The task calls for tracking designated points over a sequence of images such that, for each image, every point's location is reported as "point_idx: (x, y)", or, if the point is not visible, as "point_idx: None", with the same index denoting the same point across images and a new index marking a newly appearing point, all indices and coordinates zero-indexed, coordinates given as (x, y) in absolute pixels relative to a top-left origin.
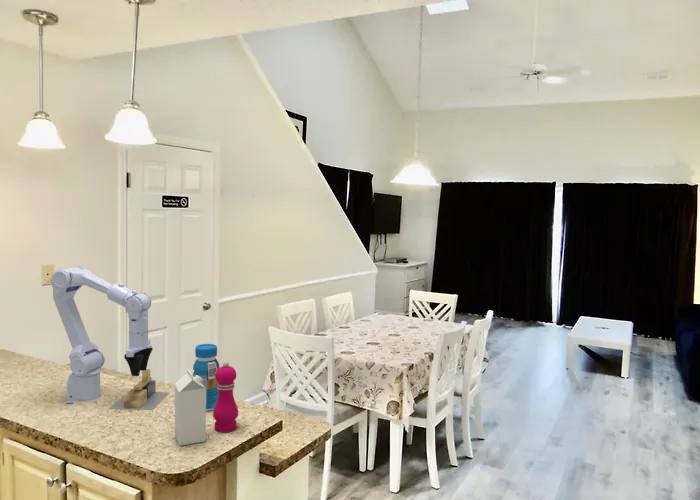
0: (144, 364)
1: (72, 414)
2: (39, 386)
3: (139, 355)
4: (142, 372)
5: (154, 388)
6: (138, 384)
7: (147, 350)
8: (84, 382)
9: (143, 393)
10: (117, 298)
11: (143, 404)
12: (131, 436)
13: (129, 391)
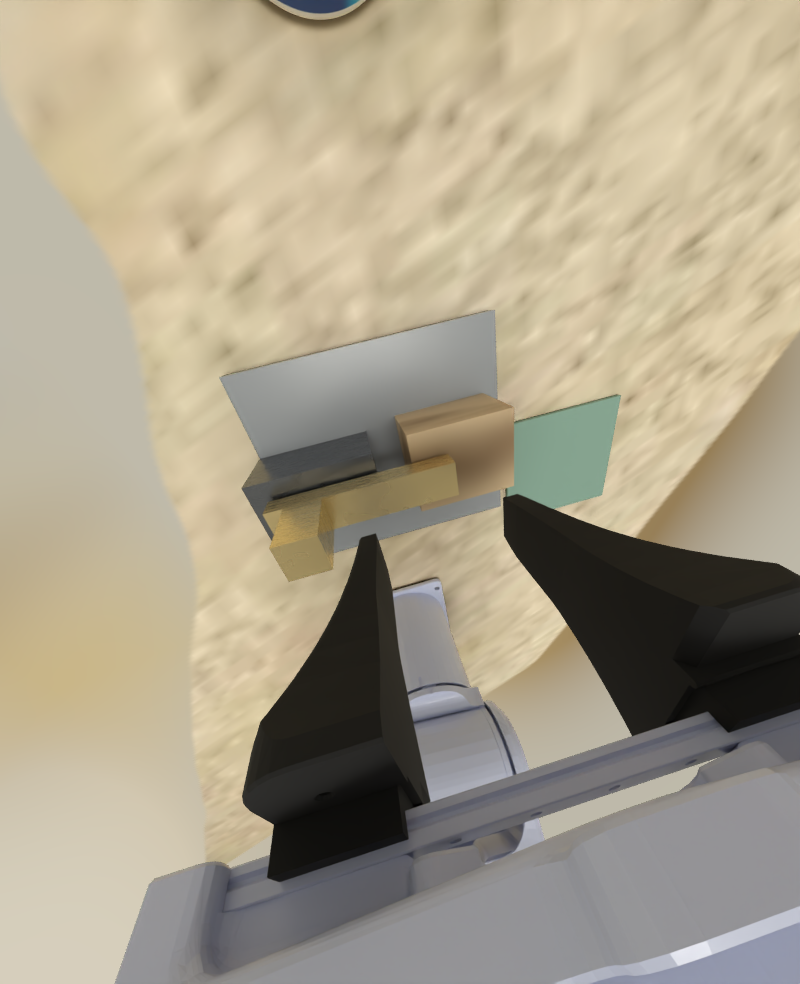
0: (381, 576)
1: (520, 571)
2: None
3: (746, 637)
4: (331, 559)
5: (269, 464)
6: (416, 496)
7: (395, 734)
8: (463, 668)
9: (457, 420)
10: None
11: (439, 404)
12: (744, 242)
13: (455, 498)
